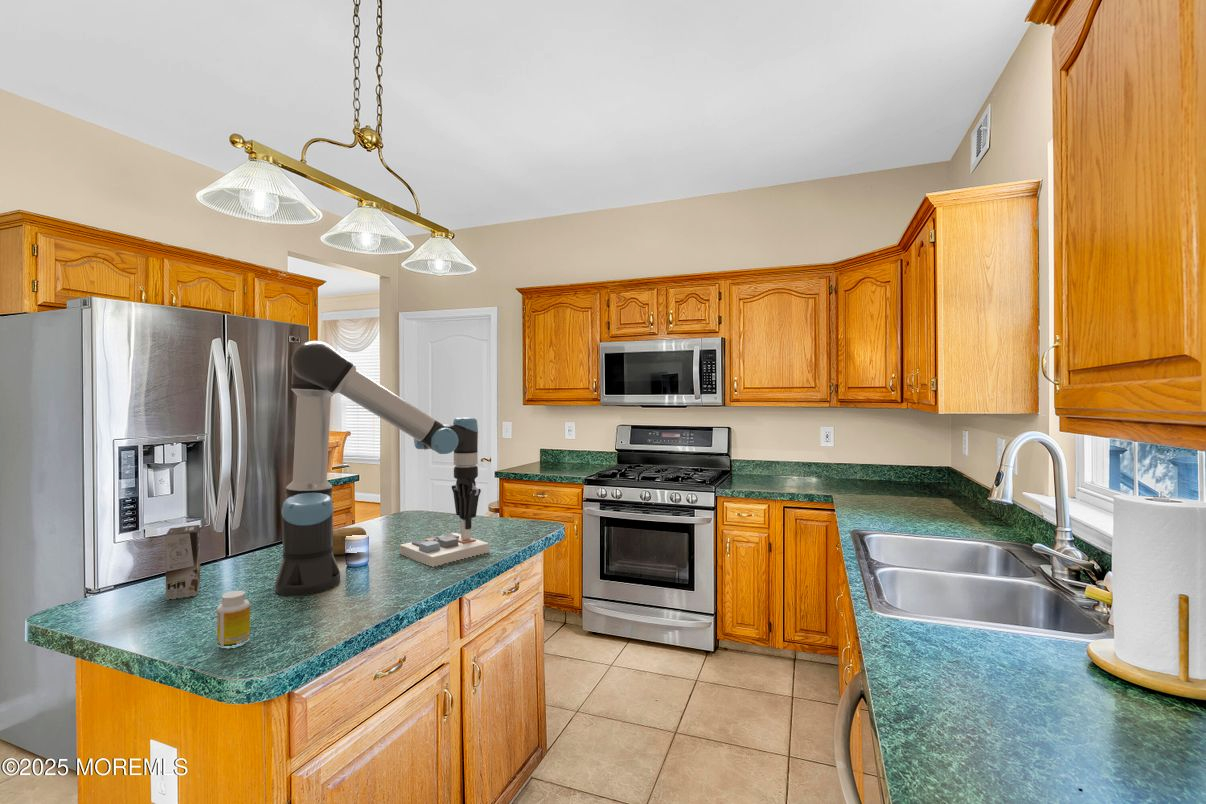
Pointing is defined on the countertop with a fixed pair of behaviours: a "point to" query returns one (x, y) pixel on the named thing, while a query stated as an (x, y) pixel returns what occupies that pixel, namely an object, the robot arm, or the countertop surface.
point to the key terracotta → (466, 540)
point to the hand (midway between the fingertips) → (465, 538)
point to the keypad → (444, 551)
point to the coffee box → (182, 562)
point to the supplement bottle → (233, 619)
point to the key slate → (429, 546)
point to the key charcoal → (448, 542)
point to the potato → (340, 537)
